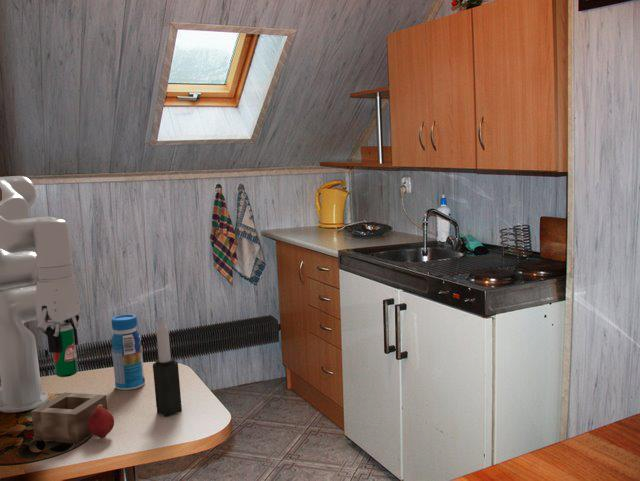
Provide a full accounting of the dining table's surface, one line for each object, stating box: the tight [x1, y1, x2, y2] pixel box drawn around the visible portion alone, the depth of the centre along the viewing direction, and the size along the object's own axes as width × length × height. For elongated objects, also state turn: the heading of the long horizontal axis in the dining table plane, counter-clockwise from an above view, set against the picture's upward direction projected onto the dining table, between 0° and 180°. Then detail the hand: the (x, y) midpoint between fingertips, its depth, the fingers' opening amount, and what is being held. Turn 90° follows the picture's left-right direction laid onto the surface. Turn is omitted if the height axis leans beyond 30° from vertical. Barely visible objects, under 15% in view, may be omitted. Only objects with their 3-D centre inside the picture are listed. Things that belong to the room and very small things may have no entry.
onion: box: [88, 405, 115, 439], centre depth 153 cm, size 6×6×8 cm
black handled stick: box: [152, 315, 183, 418], centre depth 166 cm, size 5×5×25 cm
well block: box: [30, 391, 109, 445], centre depth 158 cm, size 12×12×7 cm
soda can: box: [51, 322, 79, 378], centre depth 156 cm, size 5×5×12 cm
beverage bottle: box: [110, 314, 146, 391], centre depth 187 cm, size 8×8×20 cm
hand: (63, 347), depth 156 cm, fingers closed on soda can, 5 cm apart
